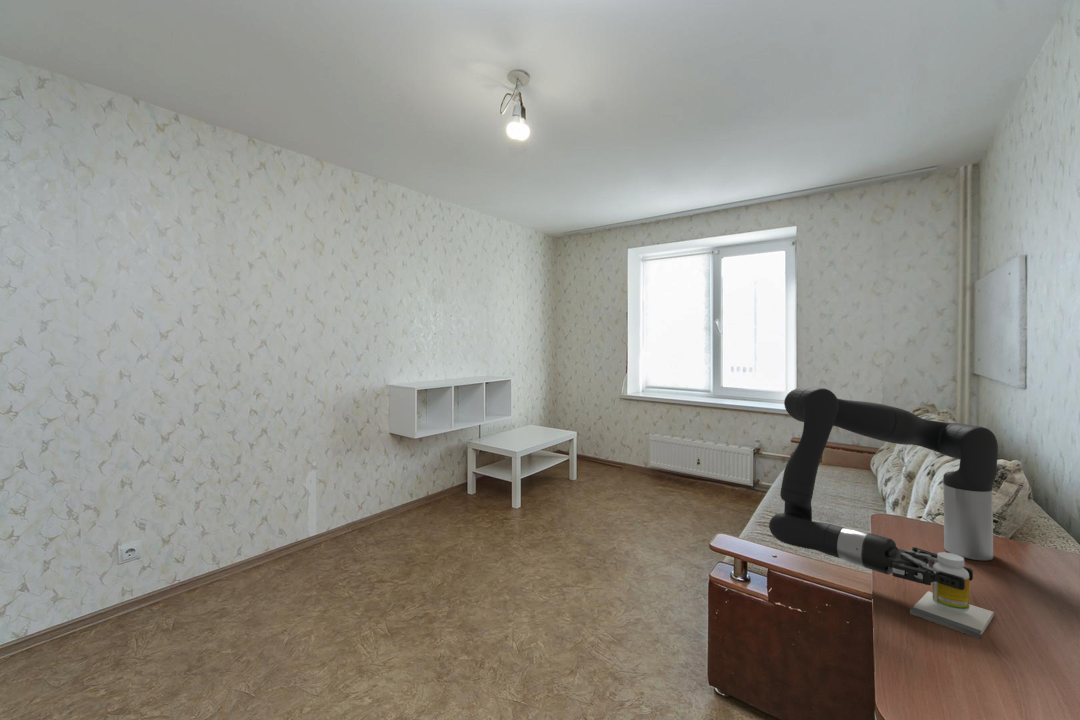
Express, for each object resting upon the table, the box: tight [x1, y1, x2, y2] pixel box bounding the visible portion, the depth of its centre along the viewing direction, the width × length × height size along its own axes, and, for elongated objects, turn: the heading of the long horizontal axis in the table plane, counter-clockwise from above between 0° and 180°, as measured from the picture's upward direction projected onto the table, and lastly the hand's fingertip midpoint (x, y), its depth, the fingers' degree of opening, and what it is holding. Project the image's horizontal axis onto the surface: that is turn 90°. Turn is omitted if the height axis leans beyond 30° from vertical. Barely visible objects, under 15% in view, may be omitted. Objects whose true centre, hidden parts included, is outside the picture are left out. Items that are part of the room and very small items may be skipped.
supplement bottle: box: [932, 551, 970, 612], centre depth 89 cm, size 5×5×10 cm
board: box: [909, 590, 995, 639], centre depth 89 cm, size 12×10×1 cm
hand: (968, 579), depth 87 cm, fingers closed on supplement bottle, 5 cm apart
